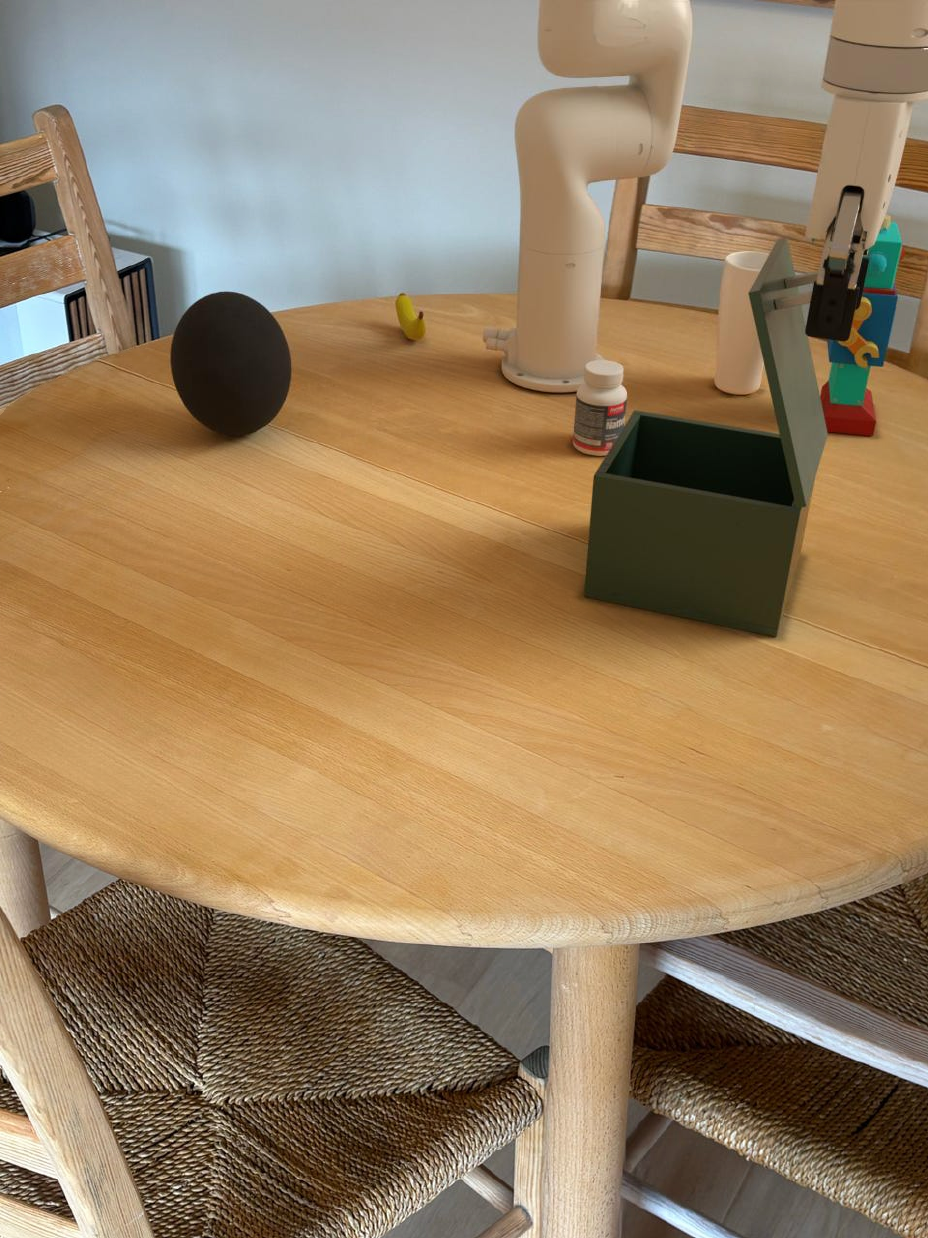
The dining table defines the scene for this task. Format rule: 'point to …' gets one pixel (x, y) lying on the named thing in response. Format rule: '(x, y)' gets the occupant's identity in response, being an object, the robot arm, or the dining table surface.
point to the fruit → (409, 318)
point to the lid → (790, 366)
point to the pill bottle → (599, 408)
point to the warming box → (695, 523)
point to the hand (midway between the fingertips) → (833, 319)
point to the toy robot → (864, 340)
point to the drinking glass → (738, 326)
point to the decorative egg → (230, 363)
